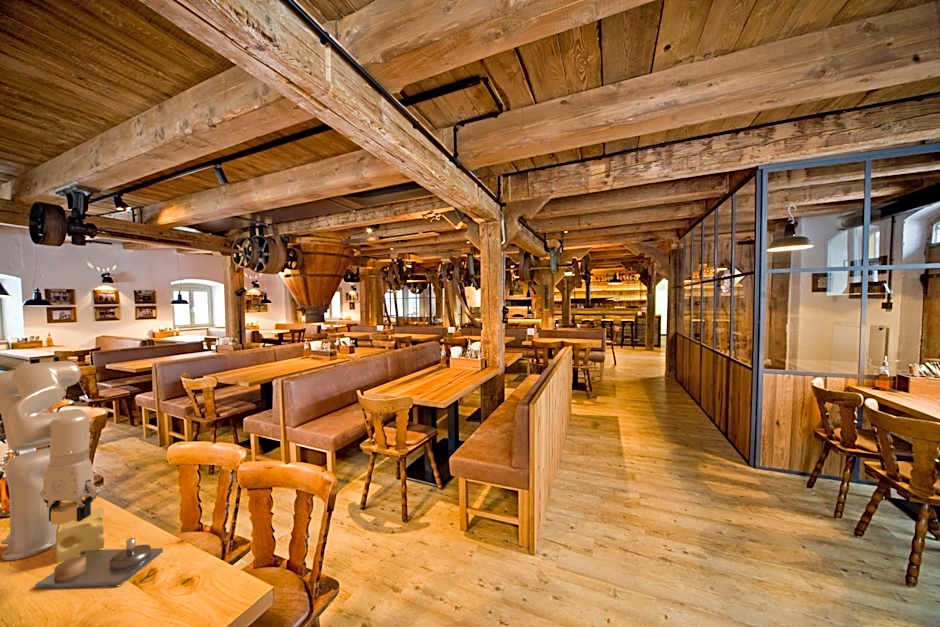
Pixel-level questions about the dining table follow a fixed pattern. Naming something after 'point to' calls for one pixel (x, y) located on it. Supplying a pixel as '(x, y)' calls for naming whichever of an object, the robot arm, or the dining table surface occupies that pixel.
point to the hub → (130, 555)
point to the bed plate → (99, 571)
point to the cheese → (80, 536)
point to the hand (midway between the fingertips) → (70, 518)
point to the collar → (64, 512)
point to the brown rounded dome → (70, 568)
